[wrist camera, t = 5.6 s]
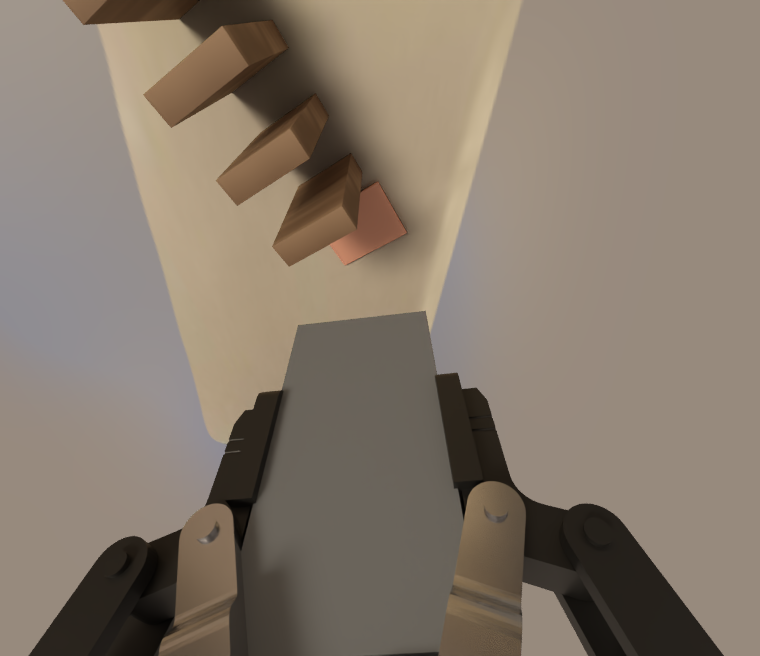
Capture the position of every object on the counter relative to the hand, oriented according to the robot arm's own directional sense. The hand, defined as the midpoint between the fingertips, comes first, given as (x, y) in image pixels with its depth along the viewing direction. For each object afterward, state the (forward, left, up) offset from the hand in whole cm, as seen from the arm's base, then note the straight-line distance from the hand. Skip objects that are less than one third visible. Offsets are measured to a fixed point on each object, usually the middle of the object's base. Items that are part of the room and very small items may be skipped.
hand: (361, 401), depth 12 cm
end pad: (+4, +2, -22) cm, 23 cm away
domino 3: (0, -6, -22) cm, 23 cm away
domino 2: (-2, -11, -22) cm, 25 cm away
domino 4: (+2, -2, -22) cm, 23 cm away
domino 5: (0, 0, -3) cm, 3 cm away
